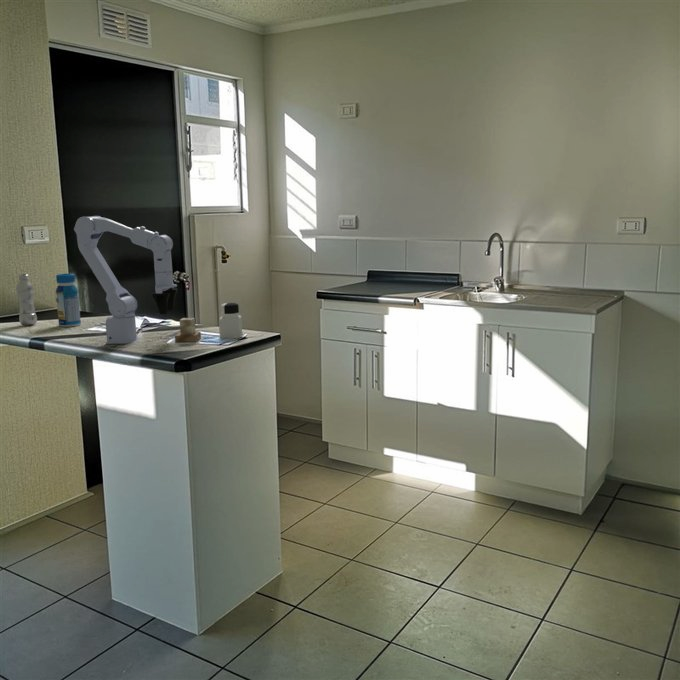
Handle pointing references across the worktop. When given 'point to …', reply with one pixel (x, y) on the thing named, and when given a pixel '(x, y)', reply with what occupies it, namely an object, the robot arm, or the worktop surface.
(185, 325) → the maple block
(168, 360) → the worktop surface
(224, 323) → the medicine bottle
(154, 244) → the robot arm
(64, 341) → the worktop surface
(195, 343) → the mat
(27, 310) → the plastic bottle
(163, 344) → the worktop surface
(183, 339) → the walnut slab
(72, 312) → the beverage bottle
